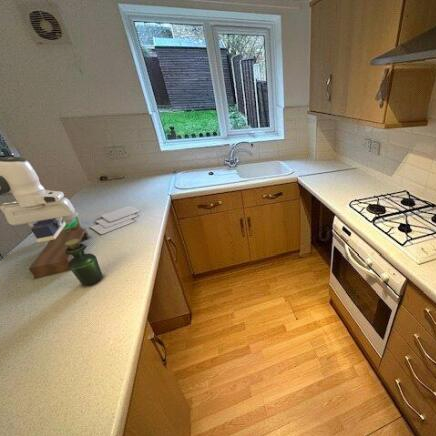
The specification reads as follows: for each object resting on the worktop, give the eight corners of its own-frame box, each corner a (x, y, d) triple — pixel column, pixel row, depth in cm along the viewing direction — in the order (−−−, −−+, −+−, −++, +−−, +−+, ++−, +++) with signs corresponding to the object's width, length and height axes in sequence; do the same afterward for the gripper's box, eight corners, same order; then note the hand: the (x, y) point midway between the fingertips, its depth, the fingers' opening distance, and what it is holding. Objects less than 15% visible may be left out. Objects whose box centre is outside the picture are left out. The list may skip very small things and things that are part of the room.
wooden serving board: (35, 278, 94) (28, 268, 92) (59, 242, 116) (54, 234, 114) (73, 269, 98) (67, 259, 96) (89, 236, 121) (85, 228, 118)
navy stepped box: (55, 239, 97) (47, 226, 94) (37, 242, 95) (29, 229, 92) (66, 224, 108) (59, 212, 106) (50, 226, 106) (43, 215, 103)
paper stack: (149, 215, 140) (149, 214, 140) (101, 234, 122) (100, 233, 122) (130, 206, 152) (129, 205, 152) (83, 222, 134) (82, 221, 134)
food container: (54, 240, 119) (44, 222, 114) (54, 235, 123) (45, 217, 118) (85, 231, 125) (76, 214, 121) (84, 227, 130) (76, 210, 125)
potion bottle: (107, 280, 92) (87, 242, 84) (80, 291, 87) (57, 251, 79) (103, 270, 97) (84, 233, 89) (78, 280, 92) (56, 241, 84)
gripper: (-8, 206, 88) (14, 238, 94) (62, 196, 95) (77, 226, 102) (1, 200, 93) (21, 230, 99) (67, 191, 101) (81, 220, 107)
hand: (50, 228), depth 101 cm, fingers closed on navy stepped box, 5 cm apart
